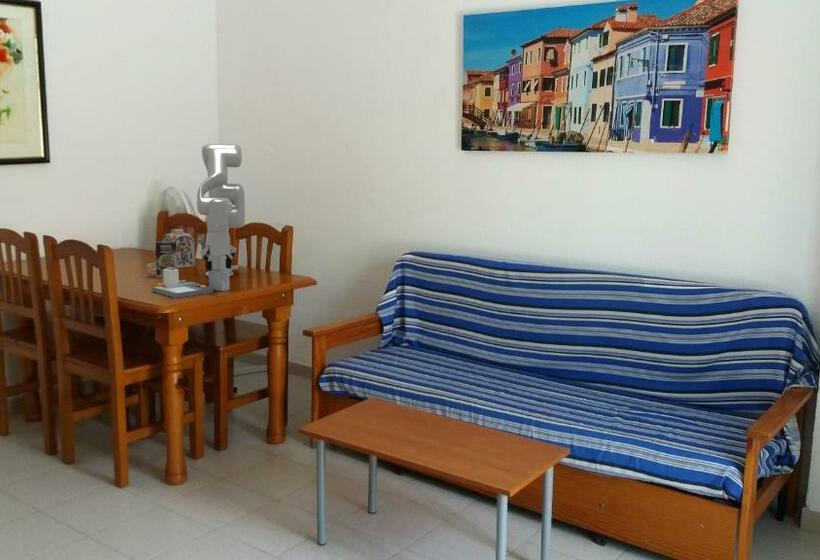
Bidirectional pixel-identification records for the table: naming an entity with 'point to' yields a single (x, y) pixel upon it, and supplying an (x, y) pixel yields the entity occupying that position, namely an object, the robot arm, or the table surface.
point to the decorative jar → (183, 247)
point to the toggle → (171, 276)
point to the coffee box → (165, 256)
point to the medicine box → (219, 279)
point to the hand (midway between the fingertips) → (218, 269)
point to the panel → (182, 289)
